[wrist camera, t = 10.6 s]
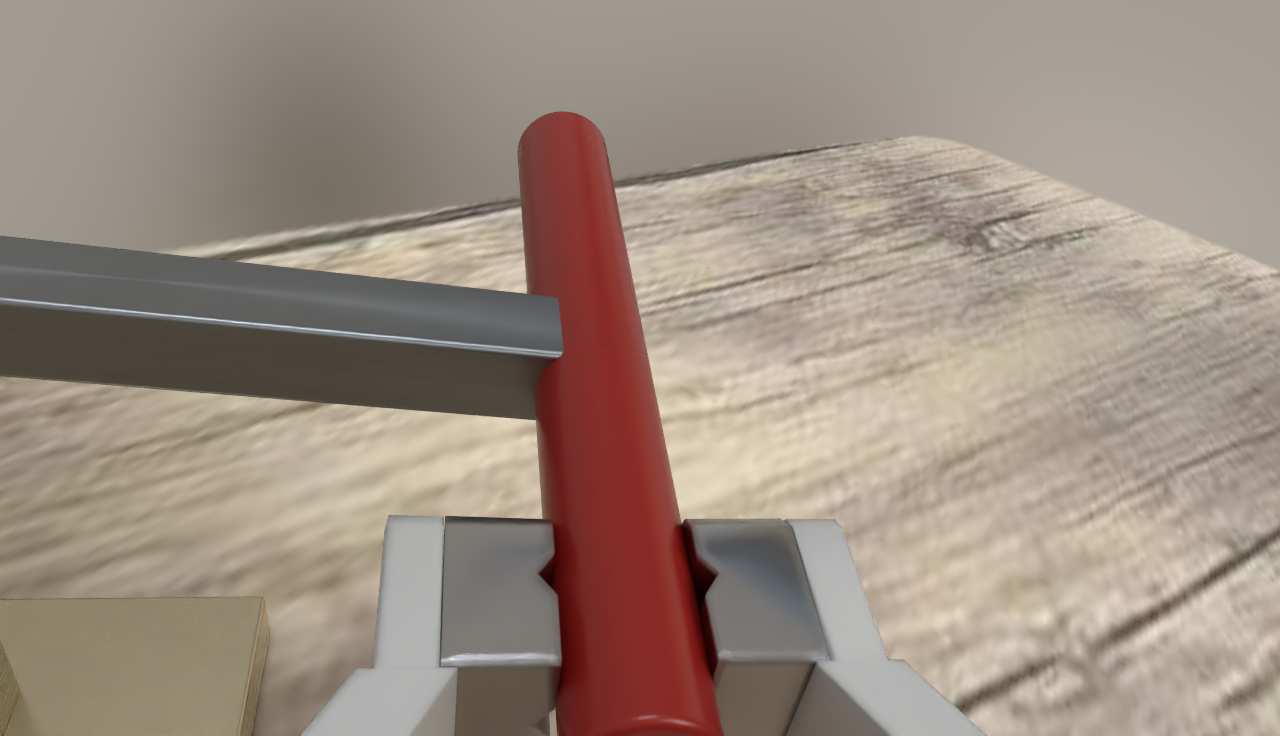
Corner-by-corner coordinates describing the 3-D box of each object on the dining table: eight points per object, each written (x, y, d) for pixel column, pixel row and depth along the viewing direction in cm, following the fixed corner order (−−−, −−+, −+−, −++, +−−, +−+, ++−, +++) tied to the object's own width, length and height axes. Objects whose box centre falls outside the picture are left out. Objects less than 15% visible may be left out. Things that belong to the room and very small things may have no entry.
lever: (589, 222, 17) (621, 82, 15) (687, 845, 9) (769, 684, 8) (-399, 96, 14) (-479, -96, 12) (-1488, 874, 6) (-2045, 615, 5)
